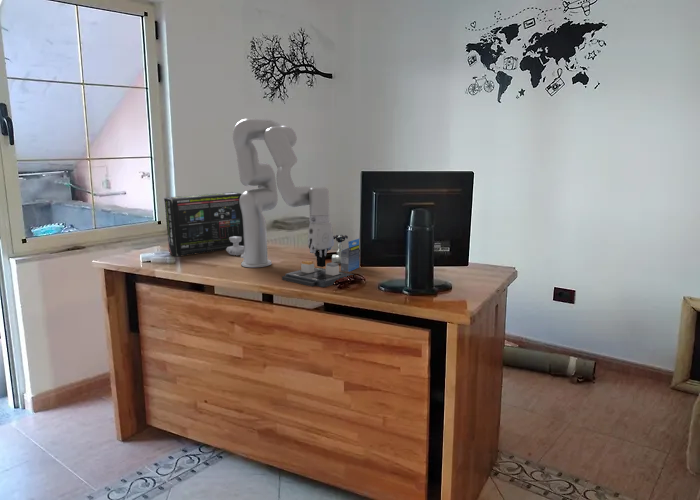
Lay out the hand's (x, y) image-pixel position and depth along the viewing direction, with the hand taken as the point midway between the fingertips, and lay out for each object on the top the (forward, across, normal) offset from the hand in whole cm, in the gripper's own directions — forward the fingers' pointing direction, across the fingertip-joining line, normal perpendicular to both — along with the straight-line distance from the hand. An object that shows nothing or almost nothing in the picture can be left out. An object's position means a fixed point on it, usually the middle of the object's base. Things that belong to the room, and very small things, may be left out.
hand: (321, 266), depth 217 cm
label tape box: (+3, +13, -4) cm, 14 cm away
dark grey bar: (+3, -15, -3) cm, 16 cm away
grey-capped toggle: (+1, -4, -10) cm, 11 cm away
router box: (+3, +1, +77) cm, 77 cm away
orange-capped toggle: (+1, -7, 0) cm, 7 cm away
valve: (+3, +18, +6) cm, 19 cm away
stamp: (+3, +3, +57) cm, 57 cm away
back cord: (+3, +3, -5) cm, 6 cm away
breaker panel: (+3, -7, -5) cm, 9 cm away
